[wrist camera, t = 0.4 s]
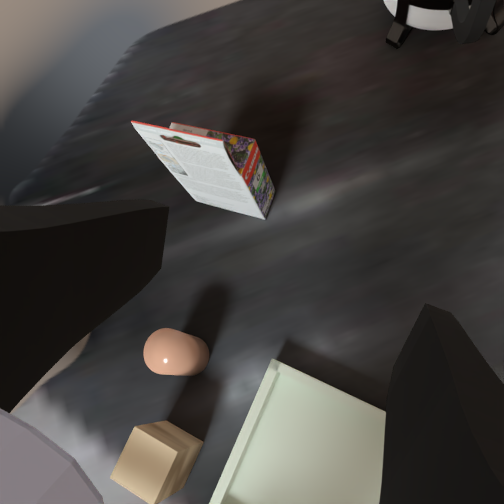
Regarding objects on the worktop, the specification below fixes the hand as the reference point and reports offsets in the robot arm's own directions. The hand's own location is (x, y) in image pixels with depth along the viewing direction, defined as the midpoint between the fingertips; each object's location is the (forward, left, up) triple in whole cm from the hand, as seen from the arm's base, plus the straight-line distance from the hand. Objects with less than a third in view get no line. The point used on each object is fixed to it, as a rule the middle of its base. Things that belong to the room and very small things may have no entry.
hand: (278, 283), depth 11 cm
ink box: (+11, +14, -28) cm, 33 cm away
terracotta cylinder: (-5, +11, -27) cm, 30 cm away
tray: (-9, -3, -27) cm, 29 cm away
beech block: (-13, +9, -27) cm, 32 cm away
